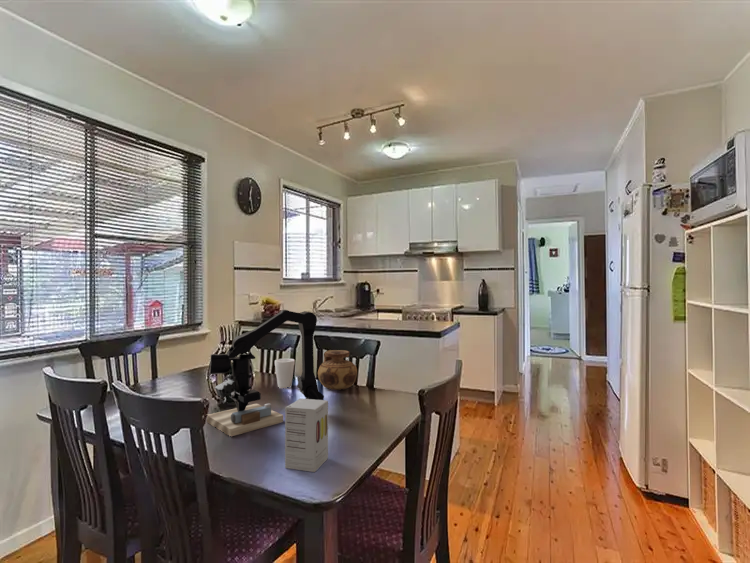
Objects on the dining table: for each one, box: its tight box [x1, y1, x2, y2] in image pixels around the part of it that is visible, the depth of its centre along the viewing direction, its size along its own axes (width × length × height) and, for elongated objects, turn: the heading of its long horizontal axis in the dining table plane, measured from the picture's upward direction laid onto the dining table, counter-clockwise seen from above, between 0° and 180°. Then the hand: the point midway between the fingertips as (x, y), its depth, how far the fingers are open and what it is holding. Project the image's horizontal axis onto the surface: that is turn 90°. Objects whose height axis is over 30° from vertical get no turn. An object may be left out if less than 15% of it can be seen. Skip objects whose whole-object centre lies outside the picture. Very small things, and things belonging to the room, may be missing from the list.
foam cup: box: [274, 358, 296, 389], centre depth 195 cm, size 10×9×13 cm
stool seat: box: [206, 402, 284, 437], centre depth 146 cm, size 20×20×2 cm
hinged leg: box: [231, 402, 272, 423], centre depth 142 cm, size 14×3×4 cm, turn 131°
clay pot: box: [317, 349, 358, 391], centre depth 192 cm, size 19×19×20 cm
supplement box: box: [284, 398, 329, 473], centre depth 112 cm, size 10×9×17 cm
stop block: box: [241, 411, 260, 425], centre depth 138 cm, size 2×6×3 cm, turn 134°
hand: (240, 415), depth 141 cm, fingers closed
